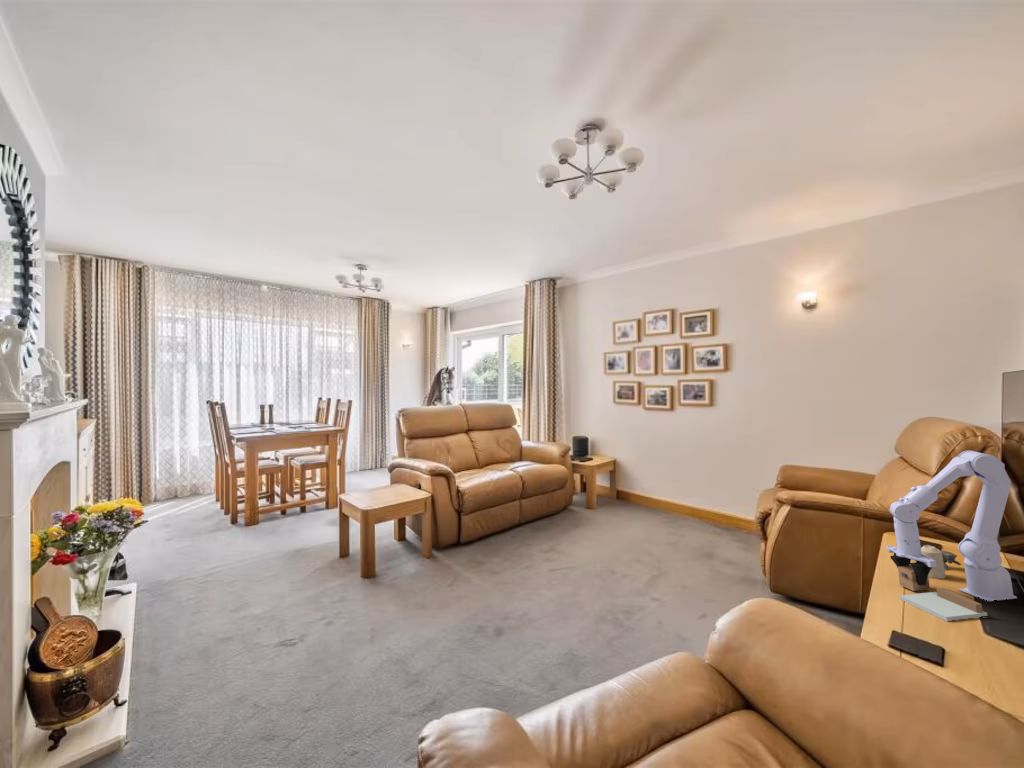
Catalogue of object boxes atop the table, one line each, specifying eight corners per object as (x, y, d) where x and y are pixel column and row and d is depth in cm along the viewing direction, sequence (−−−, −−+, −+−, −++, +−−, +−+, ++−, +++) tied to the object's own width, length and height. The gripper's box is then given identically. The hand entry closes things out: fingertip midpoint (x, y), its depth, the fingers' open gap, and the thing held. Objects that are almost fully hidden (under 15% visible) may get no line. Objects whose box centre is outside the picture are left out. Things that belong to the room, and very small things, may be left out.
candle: (950, 579, 140) (945, 548, 140) (931, 579, 141) (926, 549, 141) (937, 572, 145) (932, 543, 146) (918, 572, 146) (914, 543, 147)
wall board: (936, 595, 130) (935, 584, 130) (987, 617, 116) (985, 604, 117) (900, 599, 129) (898, 588, 130) (947, 621, 116) (945, 609, 116)
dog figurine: (914, 566, 151) (911, 545, 152) (915, 561, 155) (911, 541, 156) (962, 573, 143) (959, 551, 143) (961, 567, 147) (958, 546, 147)
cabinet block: (915, 583, 138) (913, 564, 138) (929, 589, 133) (927, 570, 133) (898, 585, 137) (896, 566, 138) (912, 591, 133) (909, 572, 133)
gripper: (876, 534, 143) (881, 574, 142) (918, 547, 129) (925, 592, 128) (895, 532, 144) (901, 571, 143) (940, 545, 129) (946, 590, 128)
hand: (914, 581), depth 135 cm, fingers closed on cabinet block, 4 cm apart
